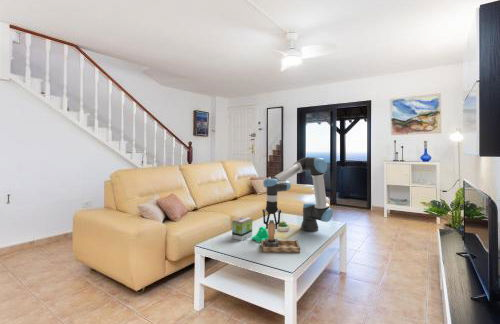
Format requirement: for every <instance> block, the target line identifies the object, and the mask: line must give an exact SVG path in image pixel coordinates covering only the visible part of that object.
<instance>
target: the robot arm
mask: <svg viewBox="0 0 500 324" xmlns="http://www.w3.org/2000/svg"><path fill="white" fill-rule="evenodd" d="M327 170H328V164H327V161H326V160H325V159H324V158H322V157H309V156H307V157H303V158H301V159H298V160H297V161H295V162H294V163H293V164H292V165H291V166H290V167H288V168H286V169H284V170H282V171H281V172H279V173H278V174H276V175H274V176H272V177H271V178H265V179H264V180H263V187H264V188H266V207H265V208H263V209H262V214H263V215H262V216H263V225H265V228H266V230H267V232H268V234H269V222H270V216H271V215H273V218H274V235H276V230H278V225H280V224H281V213H282V209H279V208H278V193H279V192H287V191H290V189H291V188H292V187H291V183H290V181H289V180H290V178H292V177H294V176H295V175H297V174H301V173H303V172H309V175H310V176H311V177H312V186H313V191H314V199H315V202H306V203H303V205H302V222H301V225H300V229H301V231H304V232H309V233H312V232H313V233H314V232H318V231H319V226H318V225H319V224H318V221H321V222H322V223H324V222H325V223H328V222H330V221H331V220H332V217H333V215H334V211H333V209H332V208H330V205H329V203H327V195H326V188H325V187H326V185H325V180H324V175H325V174H326V172H327ZM266 212H267V217H266ZM276 213H277V215H276ZM276 216H277V217H276Z"/></svg>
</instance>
